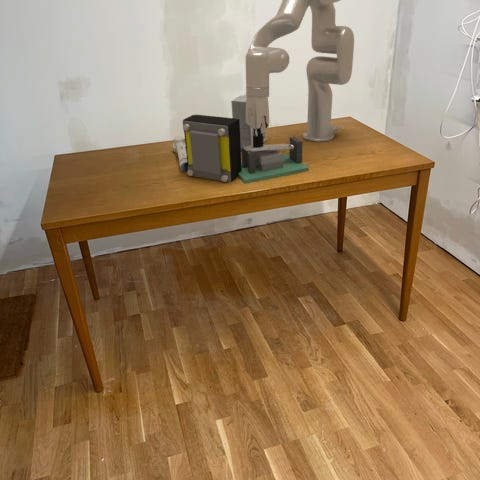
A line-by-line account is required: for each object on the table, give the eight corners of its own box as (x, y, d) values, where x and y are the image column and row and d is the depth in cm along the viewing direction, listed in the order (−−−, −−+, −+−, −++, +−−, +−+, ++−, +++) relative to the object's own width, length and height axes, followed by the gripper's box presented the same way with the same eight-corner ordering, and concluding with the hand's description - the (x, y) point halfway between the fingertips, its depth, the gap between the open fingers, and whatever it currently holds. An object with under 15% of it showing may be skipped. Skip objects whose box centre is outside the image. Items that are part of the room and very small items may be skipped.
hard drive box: (250, 138, 196) (248, 90, 186) (266, 140, 193) (266, 91, 183) (233, 151, 184) (230, 100, 174) (251, 153, 181) (249, 101, 171)
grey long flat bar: (289, 146, 168) (290, 142, 167) (295, 149, 164) (295, 146, 164) (242, 148, 161) (243, 144, 161) (247, 152, 158) (248, 148, 157)
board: (288, 156, 176) (288, 132, 172) (308, 170, 163) (309, 145, 159) (228, 167, 169) (227, 143, 165) (245, 183, 156) (244, 157, 152)
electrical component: (185, 177, 164) (179, 121, 154) (200, 167, 172) (195, 113, 161) (228, 185, 157) (225, 127, 146) (242, 174, 164) (240, 118, 154)
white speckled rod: (178, 163, 165) (170, 132, 184) (180, 179, 169) (172, 148, 188) (193, 161, 166) (184, 131, 185) (194, 177, 170) (185, 146, 189)
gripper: (238, 88, 156) (240, 142, 165) (256, 97, 144) (256, 154, 153) (259, 86, 158) (259, 139, 167) (278, 95, 146) (277, 151, 155)
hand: (258, 146), depth 160 cm, fingers closed
